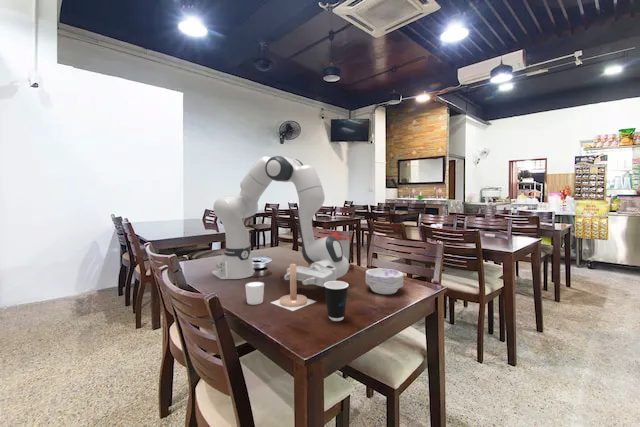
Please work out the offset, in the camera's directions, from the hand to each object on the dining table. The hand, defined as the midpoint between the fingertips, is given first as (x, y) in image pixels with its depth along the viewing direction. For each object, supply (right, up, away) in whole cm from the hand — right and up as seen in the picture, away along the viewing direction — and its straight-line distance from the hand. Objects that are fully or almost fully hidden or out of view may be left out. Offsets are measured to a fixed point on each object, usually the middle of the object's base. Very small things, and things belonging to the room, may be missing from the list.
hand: (294, 280), depth 109 cm
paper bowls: (+36, -8, +13) cm, 39 cm away
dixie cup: (+15, -9, -13) cm, 22 cm away
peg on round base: (0, -8, 0) cm, 8 cm away
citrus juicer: (+18, -5, +51) cm, 54 cm away
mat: (0, -8, 0) cm, 8 cm away
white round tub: (-15, -9, +1) cm, 17 cm away
